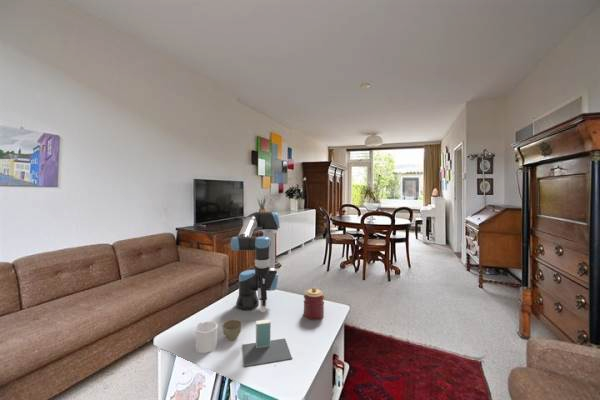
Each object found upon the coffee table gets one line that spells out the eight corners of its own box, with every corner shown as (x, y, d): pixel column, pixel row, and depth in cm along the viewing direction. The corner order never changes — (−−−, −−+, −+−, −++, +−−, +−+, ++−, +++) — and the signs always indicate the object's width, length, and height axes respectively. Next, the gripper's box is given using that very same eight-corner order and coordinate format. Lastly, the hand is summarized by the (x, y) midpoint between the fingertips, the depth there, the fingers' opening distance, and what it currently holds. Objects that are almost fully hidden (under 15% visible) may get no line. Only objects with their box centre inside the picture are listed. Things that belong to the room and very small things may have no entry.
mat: (242, 345, 123) (242, 344, 123) (285, 339, 129) (285, 338, 129) (243, 367, 108) (243, 366, 108) (292, 359, 114) (292, 358, 114)
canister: (301, 318, 150) (302, 290, 150) (305, 309, 163) (305, 283, 162) (322, 321, 148) (323, 292, 147) (324, 311, 161) (325, 284, 160)
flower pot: (219, 336, 130) (219, 323, 130) (236, 330, 137) (236, 317, 136) (227, 346, 123) (227, 332, 122) (245, 338, 129) (245, 325, 129)
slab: (255, 344, 124) (256, 321, 123) (269, 342, 125) (269, 319, 125) (256, 348, 121) (256, 324, 120) (270, 345, 123) (270, 322, 122)
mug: (221, 346, 122) (221, 326, 122) (202, 356, 114) (202, 335, 114) (207, 336, 130) (207, 317, 130) (189, 345, 122) (189, 325, 122)
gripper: (253, 259, 141) (252, 295, 142) (257, 274, 117) (257, 318, 118) (266, 259, 143) (265, 294, 144) (273, 273, 119) (272, 316, 120)
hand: (261, 305), depth 131 cm, fingers open, 13 cm apart
